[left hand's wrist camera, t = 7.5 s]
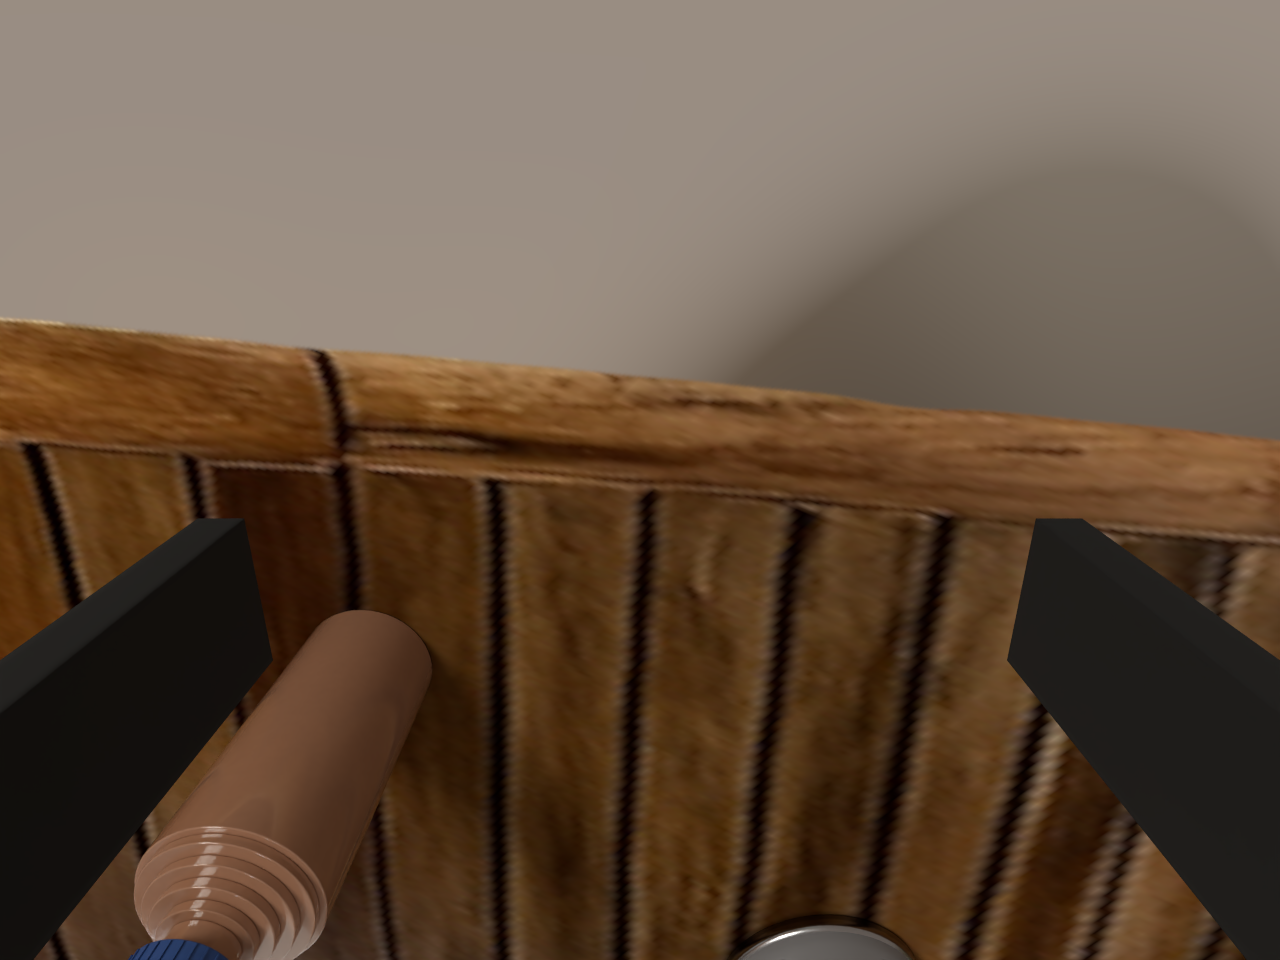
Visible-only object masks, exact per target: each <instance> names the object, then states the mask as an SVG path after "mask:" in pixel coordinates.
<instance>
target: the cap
mask: <svg viewBox="0 0 1280 960" xmlns="http://www.w3.org/2000/svg"><path fill="white" fill-rule="evenodd" d="M128 960H229V959H227V958H226V957H225V956H224V955H223V954H221V953H220V952H218V951H216V950H215V949H213V948H211V947H209V946H206V945H204V944H201V943H198V942H194V941H190V940H183V939H165V940H159V941H155V942H152V943H149V944H146V945H145V946H143V947H142V948H140V949H137V951H136V952H135V954H134V955H131V956H130V958H129V959H128Z"/></svg>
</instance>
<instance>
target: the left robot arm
mask: <svg viewBox="0 0 1280 960" xmlns="http://www.w3.org/2000/svg"><path fill="white" fill-rule="evenodd" d="M272 661H273V659H272V654H271V649H270V644H269V639H268V634H267V629H266V624H265V619H264V614H263V609H262V605H261V600H260V595H259V590H258V585H257V580H256V575H255V570H254V565H253V560H252V555H251V550H250V545H249V541H248V536H247V531H246V526H245V521H244V519H197V520H195V521H194V522H192V523H191V524H190V525H188V526H187V527H185V528H184V529H183V530H181V531H180V532H178V533H177V534H176V535H174V536H173V537H172V538H170V539H169V540H167V541H166V542H165V543H163V544H162V545H160V546H159V547H158V548H156V549H155V550H153V551H152V552H151V553H149V554H148V555H146V556H145V557H144V558H142V559H141V560H139V561H138V562H137V563H135V564H134V565H132V566H131V567H130V568H128V569H127V570H125V571H124V572H123V573H121V574H120V575H119V576H117V577H116V578H114V579H113V580H112V581H110V582H109V583H107V584H106V585H105V586H103V587H102V588H100V589H99V590H98V591H96V592H95V593H93V594H92V595H91V596H89V597H88V598H86V599H85V600H84V601H82V602H81V603H79V604H78V605H77V606H75V607H74V608H73V609H71V610H70V611H68V612H67V613H66V614H64V615H63V616H61V617H60V618H59V619H57V620H56V621H54V622H53V623H52V624H50V625H49V626H47V627H46V628H45V629H43V630H42V631H40V632H39V633H38V634H36V635H35V636H33V637H32V638H31V639H29V640H28V641H26V642H25V643H24V644H22V645H21V646H20V647H18V648H17V649H15V650H14V651H13V652H11V653H10V654H8V655H7V656H6V657H4V658H3V659H1V660H0V960H33V959H34V958H35V957H36V956H37V954H38V953H39V952H40V951H41V949H42V948H43V947H44V946H45V944H46V943H47V942H48V941H49V939H50V938H51V937H52V936H53V934H54V933H55V932H56V931H57V929H58V928H59V927H60V926H61V924H62V923H63V922H64V921H65V919H66V918H67V917H68V916H69V914H70V913H71V912H72V911H73V909H74V908H75V907H76V906H77V904H78V903H79V902H80V901H81V899H82V898H83V897H84V896H85V894H86V893H87V892H88V891H89V889H90V888H91V887H92V886H93V884H94V883H95V882H96V881H97V879H98V878H99V877H100V876H101V874H102V873H103V872H104V871H105V869H106V868H107V867H108V866H109V864H110V863H111V862H112V861H113V859H114V858H115V857H116V856H117V854H118V853H119V852H120V851H121V849H122V848H123V847H124V846H125V844H126V843H127V842H128V841H129V839H130V838H131V837H132V836H133V834H134V833H135V832H136V831H137V829H138V828H139V827H140V826H141V824H142V823H143V822H144V821H145V819H146V818H147V817H148V816H149V814H150V813H151V812H152V811H153V809H154V808H155V807H156V806H157V804H158V803H159V802H160V801H161V799H162V798H163V797H164V796H165V794H166V793H167V792H168V791H169V789H170V788H171V787H172V786H173V784H174V783H175V782H176V781H177V779H178V778H179V777H180V776H181V774H182V773H183V772H184V771H185V769H186V768H187V767H188V766H189V764H190V763H191V762H192V761H193V759H194V758H195V757H196V756H197V754H198V753H199V752H200V751H201V749H202V748H203V747H204V746H205V744H206V743H207V742H208V741H209V739H210V738H211V737H212V736H213V734H214V733H215V732H216V731H217V729H218V728H219V727H220V726H221V724H222V723H223V722H224V721H225V719H226V718H227V717H228V716H229V714H230V713H231V712H232V711H233V709H234V708H235V707H236V706H237V704H238V703H239V702H240V701H241V699H242V698H243V697H244V696H245V694H246V693H247V692H248V691H249V689H250V688H251V687H252V686H253V684H254V683H255V682H256V681H257V679H258V678H259V677H260V676H261V674H262V673H263V672H264V671H265V669H266V668H267V667H268V666H269V664H270V663H271V662H272ZM1007 661H1008V662H1009V663H1010V664H1011V666H1012V667H1013V668H1014V669H1015V671H1016V672H1017V673H1018V674H1019V676H1020V677H1021V678H1022V679H1023V681H1024V682H1025V683H1026V684H1027V686H1028V687H1029V688H1030V689H1031V691H1032V692H1033V693H1034V694H1035V696H1036V697H1037V698H1038V699H1039V701H1040V702H1041V703H1042V704H1043V706H1044V707H1045V708H1046V709H1047V711H1048V712H1049V713H1050V714H1051V716H1052V717H1053V718H1054V719H1055V721H1056V722H1057V723H1058V724H1059V726H1060V727H1061V728H1062V729H1063V731H1064V732H1065V733H1066V734H1067V736H1068V737H1069V738H1070V739H1071V741H1072V742H1073V743H1074V744H1075V746H1076V747H1077V748H1078V749H1079V751H1080V752H1081V753H1082V754H1083V756H1084V757H1085V758H1086V759H1087V761H1088V762H1089V763H1090V764H1091V766H1092V767H1093V768H1094V769H1095V771H1096V772H1097V773H1098V774H1099V776H1100V777H1101V778H1102V779H1103V781H1104V782H1105V783H1106V784H1107V786H1108V787H1109V788H1110V789H1111V791H1112V792H1113V793H1114V794H1115V796H1116V797H1117V798H1118V799H1119V801H1120V802H1121V803H1122V804H1123V806H1124V807H1125V808H1126V809H1127V811H1128V812H1129V813H1130V814H1131V816H1132V817H1133V818H1134V819H1135V821H1136V822H1137V823H1138V824H1139V826H1140V827H1141V828H1142V829H1143V831H1144V832H1145V833H1146V834H1147V836H1148V837H1149V838H1150V839H1151V841H1152V842H1153V843H1154V844H1155V846H1156V847H1157V848H1158V849H1159V851H1160V852H1161V853H1162V854H1163V856H1164V857H1165V858H1166V859H1167V861H1168V862H1169V863H1170V864H1171V866H1172V867H1173V868H1174V869H1175V871H1176V872H1177V873H1178V874H1179V876H1180V877H1181V878H1182V879H1183V881H1184V882H1185V883H1186V884H1187V886H1188V887H1189V888H1190V889H1191V891H1192V892H1193V893H1194V894H1195V896H1196V897H1197V898H1198V899H1199V901H1200V902H1201V903H1202V904H1203V906H1204V907H1205V908H1206V909H1207V911H1208V912H1209V913H1210V914H1211V916H1212V917H1213V918H1214V919H1215V921H1216V922H1217V923H1218V924H1219V926H1220V927H1221V928H1222V929H1223V931H1224V932H1225V933H1226V934H1227V936H1228V937H1229V938H1230V939H1231V941H1232V942H1233V943H1234V944H1235V946H1236V947H1237V948H1238V949H1239V951H1240V952H1241V953H1242V954H1243V956H1244V957H1245V958H1246V959H1247V960H1280V660H1279V659H1277V658H1276V657H1274V656H1273V655H1272V654H1270V653H1269V652H1267V651H1266V650H1265V649H1263V648H1262V647H1260V646H1259V645H1258V644H1256V643H1255V642H1254V641H1252V640H1251V639H1249V638H1248V637H1247V636H1245V635H1244V634H1242V633H1241V632H1240V631H1238V630H1237V629H1235V628H1234V627H1233V626H1231V625H1230V624H1228V623H1227V622H1226V621H1224V620H1223V619H1221V618H1220V617H1219V616H1217V615H1216V614H1214V613H1213V612H1212V611H1210V610H1209V609H1207V608H1206V607H1205V606H1203V605H1202V604H1201V603H1199V602H1198V601H1196V600H1195V599H1194V598H1192V597H1191V596H1189V595H1188V594H1187V593H1185V592H1184V591H1182V590H1181V589H1180V588H1178V587H1177V586H1175V585H1174V584H1173V583H1171V582H1170V581H1168V580H1167V579H1166V578H1164V577H1163V576H1161V575H1160V574H1159V573H1157V572H1156V571H1155V570H1153V569H1152V568H1150V567H1149V566H1148V565H1146V564H1145V563H1143V562H1142V561H1141V560H1139V559H1138V558H1136V557H1135V556H1134V555H1132V554H1131V553H1129V552H1128V551H1127V550H1125V549H1124V548H1122V547H1121V546H1120V545H1118V544H1117V543H1115V542H1114V541H1113V540H1111V539H1110V538H1108V537H1107V536H1106V535H1104V534H1103V533H1102V532H1100V531H1099V530H1097V529H1096V528H1095V527H1093V526H1092V525H1090V524H1089V523H1088V522H1086V521H1085V520H1083V519H1036V521H1035V526H1034V531H1033V536H1032V541H1031V545H1030V550H1029V555H1028V560H1027V565H1026V570H1025V575H1024V580H1023V585H1022V590H1021V595H1020V600H1019V605H1018V609H1017V614H1016V619H1015V624H1014V629H1013V634H1012V639H1011V644H1010V649H1009V654H1008V659H1007ZM727 960H915V957H914V955H913V954H912V952H911V951H910V949H909V948H908V947H907V946H906V944H905V943H904V942H903V941H902V940H900V939H899V938H898V937H897V936H896V935H894V934H893V933H891V932H890V931H888V930H886V929H885V928H883V927H881V926H879V925H876V924H874V923H871V922H868V921H865V920H862V919H858V918H853V917H848V916H839V915H814V916H805V917H799V918H794V919H790V920H786V921H783V922H780V923H777V924H774V925H772V926H770V927H767V928H765V929H763V930H761V931H759V932H757V933H756V934H754V935H753V936H751V937H749V938H748V939H747V940H745V941H744V942H743V943H742V944H740V945H739V946H738V947H737V948H736V949H735V950H734V951H733V952H732V953H731V955H730V956H729V957H728V959H727Z"/></svg>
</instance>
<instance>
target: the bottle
mask: <svg viewBox="0 0 1280 960" xmlns="http://www.w3.org/2000/svg"><path fill="white" fill-rule="evenodd" d="M431 678H432V663H431V658H430V655H429V652H428V650H427V648H426V646H425V644H424V643H423V641H422V640H421V638H420V637H419V636H418V635H417V634H416V633H415V632H414V631H413V630H412V629H411V628H410V627H409V626H407V625H406V624H404V623H403V622H402V621H400V620H398V619H396V618H394V617H392V616H389V615H387V614H384V613H380V612H376V611H370V610H352V611H347V612H342V613H339V614H336V615H334V616H332V617H330V618H328V619H326V620H325V621H323V622H322V623H321V624H320V625H319V626H318V627H317V628H316V629H315V630H314V631H313V633H312V634H311V635H310V637H309V638H308V639H307V640H306V642H305V643H304V644H303V646H302V647H301V648H300V650H299V651H298V652H297V654H296V655H295V656H294V658H293V659H292V660H291V662H290V663H289V664H288V665H287V667H286V668H285V669H284V671H283V672H282V673H281V675H280V676H279V677H278V679H277V680H276V681H275V683H274V684H273V685H272V687H271V688H270V689H269V690H268V692H267V693H266V694H265V696H264V697H263V698H262V700H261V701H260V702H259V704H258V705H257V706H256V708H255V709H254V710H253V712H252V713H251V714H250V715H249V717H248V718H247V719H246V721H245V722H244V723H243V725H242V726H241V727H240V729H239V730H238V731H237V733H236V734H235V735H234V737H233V738H232V739H231V741H230V742H229V743H228V744H227V746H226V747H225V748H224V750H223V751H222V752H221V754H220V755H219V756H218V758H217V759H216V760H215V762H214V763H213V764H212V766H211V767H210V768H209V769H208V771H207V772H206V773H205V775H204V776H203V777H202V779H201V780H200V781H199V783H198V784H197V785H196V787H195V788H194V789H193V791H192V792H191V793H190V794H189V796H188V797H187V798H186V800H185V801H184V802H183V804H182V805H181V806H180V808H179V809H178V810H177V812H176V813H175V814H174V816H173V817H172V818H171V819H170V821H169V822H168V823H167V825H166V826H165V827H164V829H163V830H162V831H161V833H160V834H159V835H158V837H157V838H156V839H155V841H154V842H153V843H152V844H151V846H150V847H149V848H148V850H147V851H146V852H145V854H144V855H143V857H142V858H141V860H140V862H139V864H138V867H137V870H136V874H135V881H134V883H135V889H134V903H135V908H136V912H137V914H138V916H139V919H140V921H141V922H142V924H143V926H144V927H145V929H146V931H147V932H148V934H149V936H150V937H151V939H152V941H153V942H155V941H159V940H165V939H183V940H190V941H194V942H198V943H201V944H204V945H206V946H209V947H211V948H213V949H215V950H216V951H218V952H220V953H221V954H223V955H224V956H225V957H226V958H227V959H229V960H293V959H294V958H296V957H297V956H298V955H299V954H301V953H303V952H304V951H305V950H307V949H308V948H309V947H310V946H311V945H312V944H313V943H314V942H315V941H316V940H317V939H318V937H319V936H320V935H321V933H322V931H323V929H324V927H325V925H326V922H327V920H328V918H329V915H330V913H331V911H332V909H333V906H334V904H335V902H336V899H337V897H338V895H339V892H340V890H341V888H342V886H343V883H344V881H345V879H346V876H347V874H348V872H349V869H350V867H351V865H352V863H353V860H354V858H355V856H356V853H357V851H358V849H359V846H360V844H361V842H362V840H363V837H364V835H365V833H366V830H367V828H368V826H369V823H370V821H371V819H372V817H373V814H374V812H375V810H376V807H377V805H378V803H379V800H380V798H381V796H382V794H383V791H384V789H385V787H386V784H387V782H388V780H389V777H390V775H391V773H392V771H393V768H394V766H395V764H396V761H397V759H398V757H399V755H400V752H401V750H402V748H403V745H404V743H405V741H406V738H407V736H408V734H409V732H410V729H411V727H412V725H413V722H414V720H415V718H416V715H417V713H418V711H419V709H420V706H421V704H422V702H423V699H424V697H425V695H426V692H427V690H428V688H429V685H430V682H431Z"/></svg>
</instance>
